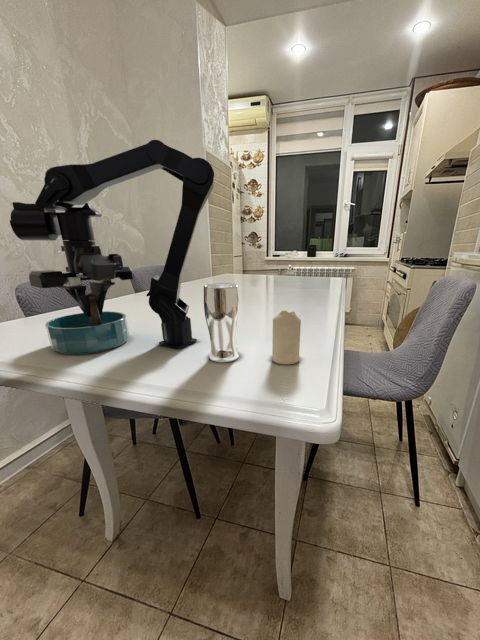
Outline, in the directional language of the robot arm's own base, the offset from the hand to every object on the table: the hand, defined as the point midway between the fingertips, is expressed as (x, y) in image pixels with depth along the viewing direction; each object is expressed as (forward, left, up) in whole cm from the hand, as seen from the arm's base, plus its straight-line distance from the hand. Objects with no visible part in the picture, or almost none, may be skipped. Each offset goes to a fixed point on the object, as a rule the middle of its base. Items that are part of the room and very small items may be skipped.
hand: (94, 315), depth 65 cm
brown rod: (0, 0, -7) cm, 7 cm away
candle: (-41, -14, -8) cm, 44 cm away
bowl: (+4, -1, -8) cm, 9 cm away
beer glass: (-29, -9, -8) cm, 31 cm away
